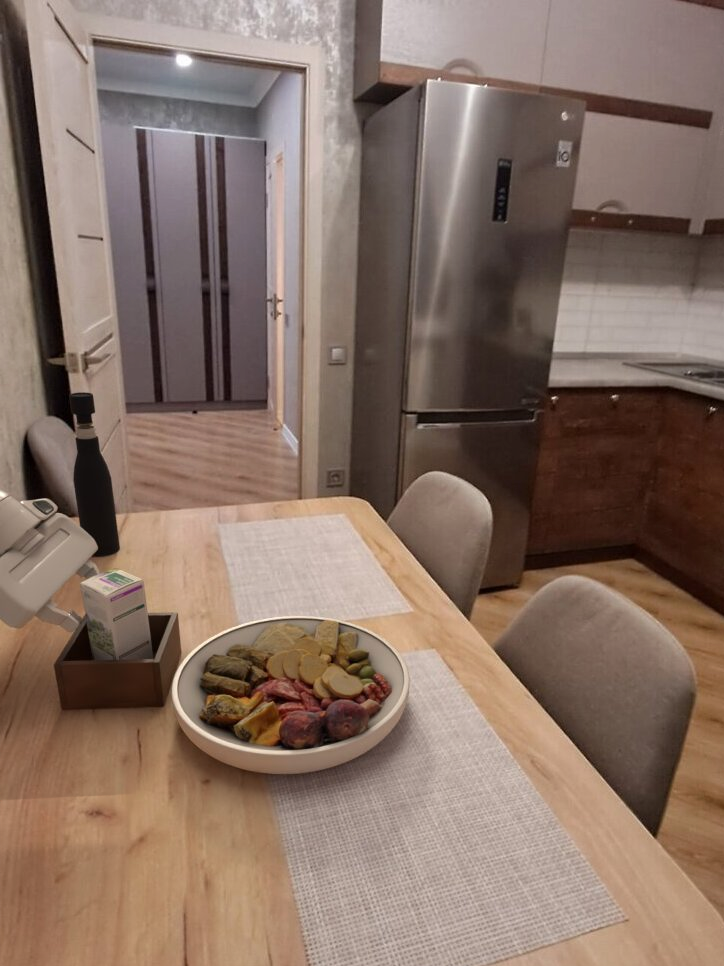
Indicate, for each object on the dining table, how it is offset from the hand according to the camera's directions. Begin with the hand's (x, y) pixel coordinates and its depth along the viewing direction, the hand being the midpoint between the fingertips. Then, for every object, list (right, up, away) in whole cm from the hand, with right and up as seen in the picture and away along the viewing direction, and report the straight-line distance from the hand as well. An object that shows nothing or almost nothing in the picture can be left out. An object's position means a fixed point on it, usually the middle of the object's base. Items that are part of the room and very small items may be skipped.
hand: (92, 608), depth 88 cm
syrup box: (+3, -10, +3) cm, 11 cm away
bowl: (+26, -13, 0) cm, 30 cm away
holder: (+3, -10, +4) cm, 11 cm away
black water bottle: (-17, +6, +41) cm, 45 cm away
